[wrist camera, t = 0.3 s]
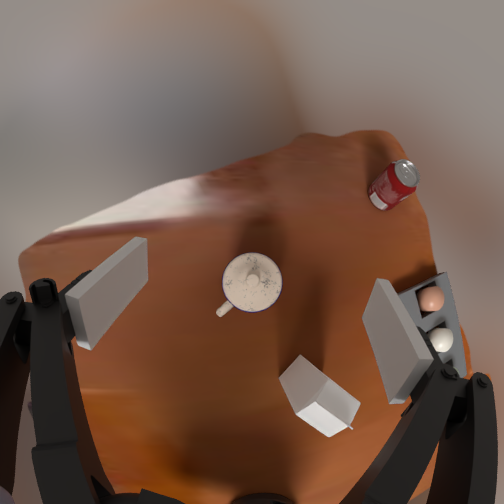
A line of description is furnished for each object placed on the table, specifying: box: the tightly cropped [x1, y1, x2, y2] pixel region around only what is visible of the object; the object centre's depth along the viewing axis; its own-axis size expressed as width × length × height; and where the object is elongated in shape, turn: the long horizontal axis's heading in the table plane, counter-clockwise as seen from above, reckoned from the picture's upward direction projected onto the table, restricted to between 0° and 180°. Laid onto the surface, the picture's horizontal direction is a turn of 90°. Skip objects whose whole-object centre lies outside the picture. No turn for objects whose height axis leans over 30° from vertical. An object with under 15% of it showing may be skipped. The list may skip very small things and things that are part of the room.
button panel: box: [397, 272, 467, 378], centre depth 47 cm, size 25×14×3 cm, turn 17°
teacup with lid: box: [216, 252, 283, 317], centre depth 45 cm, size 12×9×12 cm
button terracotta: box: [416, 286, 444, 311], centre depth 47 cm, size 5×5×4 cm
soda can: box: [368, 159, 420, 211], centre depth 49 cm, size 7×7×12 cm
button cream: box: [427, 328, 453, 352], centre depth 46 cm, size 5×5×4 cm
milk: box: [279, 355, 361, 437], centre depth 37 cm, size 6×6×22 cm
